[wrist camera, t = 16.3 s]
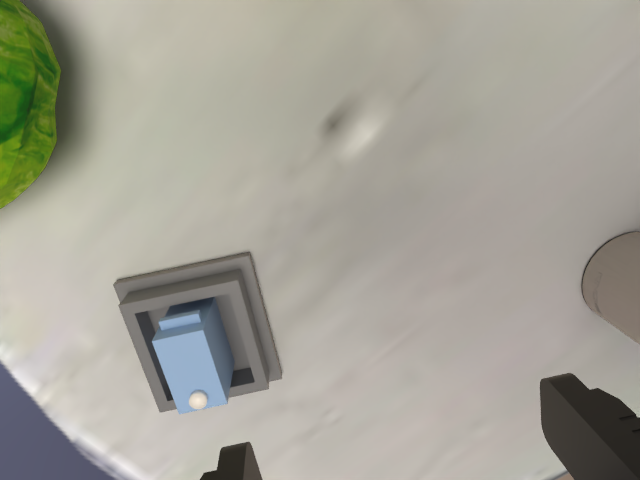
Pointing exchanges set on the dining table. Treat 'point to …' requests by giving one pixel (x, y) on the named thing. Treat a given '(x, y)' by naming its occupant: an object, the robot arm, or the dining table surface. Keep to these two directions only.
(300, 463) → the dining table surface
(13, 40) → the lettuce
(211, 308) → the block
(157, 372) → the grey shallow square tray
